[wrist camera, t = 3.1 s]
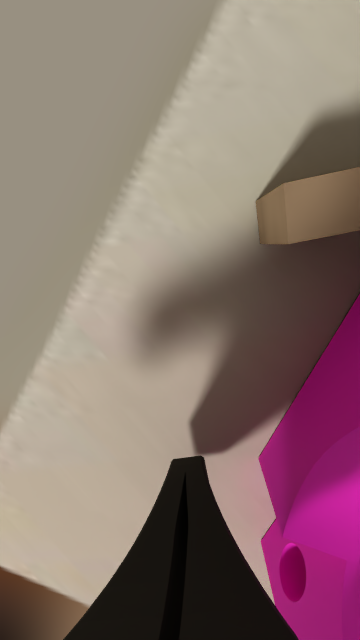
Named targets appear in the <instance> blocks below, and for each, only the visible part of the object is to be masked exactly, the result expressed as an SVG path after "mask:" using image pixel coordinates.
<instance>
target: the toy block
mask: <svg viewBox="0 0 360 640" xmlns="http://www.w3.org/2000/svg"><path fill="white" fill-rule="evenodd" d="M258 459H259V462H260V465H261V468H262V472H263V475H264V478H265V482H266V485H267V488H268V492H269V495H270V498H271V502H272V505H273V508H274V511H275V515H276V518H277V519H276V520H275V521H274V523H273V524H272V526H271V527H270V529H269V530H268V531H267V533H266V534H265V536H264V537H263V539H262V540H261V544H262V549H263V553H264V557H265V562H266V566H267V571H268V575H269V579H270V584H271V588H272V593H273V597H274V602H275V606H276V608H277V609H278V611H279V612H280V613H281V615H282V616H283V618H284V619H285V620H286V622H287V623H288V625H289V626H290V627H291V629H292V630H293V631H294V633H295V634H296V636H297V637H298V639H299V640H360V294H359V296H358V298H357V299H356V301H355V302H354V304H353V306H352V307H351V309H350V310H349V312H348V314H347V315H346V317H345V319H344V320H343V322H342V323H341V325H340V327H339V328H338V330H337V332H336V333H335V335H334V336H333V338H332V340H331V341H330V343H329V345H328V346H327V348H326V349H325V351H324V353H323V354H322V356H321V358H320V359H319V361H318V362H317V364H316V366H315V367H314V369H313V371H312V372H311V374H310V375H309V377H308V379H307V380H306V382H305V383H304V385H303V387H302V388H301V390H300V392H299V393H298V395H297V396H296V398H295V400H294V401H293V403H292V405H291V406H290V408H289V409H288V411H287V413H286V414H285V416H284V418H283V419H282V421H281V422H280V424H279V426H278V427H277V429H276V431H275V432H274V434H273V435H272V437H271V439H270V440H269V442H268V444H267V445H266V447H265V448H264V450H263V452H262V453H261V455H260V456H259V458H258Z"/></svg>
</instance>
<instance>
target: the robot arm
mask: <svg viewBox="0 0 360 640" xmlns="http://www.w3.org/2000/svg"><path fill="white" fill-rule="evenodd" d="M63 640H299V639H298V637H297V636H296V634H295V633H294V631H293V630H292V629H291V627H290V626H289V625H288V623H287V622H286V620H285V619H284V618H283V616H282V615H281V613H280V612H279V611H278V609H277V608H276V606H275V605H274V603H273V602H272V600H271V599H270V597H269V596H268V594H267V593H266V591H265V590H264V588H263V587H262V585H261V584H260V582H259V581H258V579H257V577H256V576H255V574H254V573H253V571H252V569H251V568H250V566H249V564H248V563H247V561H246V560H245V558H244V556H243V554H242V553H241V551H240V549H239V547H238V545H237V544H236V542H235V540H234V538H233V536H232V534H231V532H230V530H229V528H228V526H227V524H226V522H225V520H224V518H223V516H222V514H221V512H220V509H219V507H218V505H217V502H216V500H215V497H214V495H213V492H212V489H211V487H210V484H209V480H208V475H207V470H206V465H205V460H204V457H202V456H195V457H187V458H179V459H173V460H172V462H171V465H170V468H169V470H168V473H167V476H166V479H165V481H164V484H163V486H162V488H161V491H160V493H159V495H158V497H157V500H156V502H155V504H154V506H153V508H152V510H151V512H150V514H149V516H148V518H147V520H146V522H145V524H144V526H143V528H142V530H141V532H140V534H139V535H138V537H137V539H136V541H135V542H134V544H133V546H132V547H131V549H130V551H129V552H128V554H127V556H126V557H125V559H124V560H123V562H122V563H121V565H120V566H119V568H118V569H117V571H116V572H115V574H114V575H113V577H112V578H111V580H110V581H109V582H108V584H107V585H106V587H105V588H104V589H103V591H102V592H101V593H100V595H99V596H98V597H97V599H96V600H95V601H94V603H93V604H92V605H91V606H90V608H89V609H88V611H87V612H86V613H85V614H84V616H83V617H82V618H81V619H80V620H79V622H78V623H77V624H76V625H75V626H74V628H73V629H72V630H71V631H70V632H69V634H68V635H67V636H66V637H65V638H64V639H63Z"/></svg>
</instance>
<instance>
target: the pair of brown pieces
mask: <svg viewBox="0 0 360 640" xmlns="http://www.w3.org/2000/svg"><path fill="white" fill-rule="evenodd" d="M256 209H257V218H258V227H259V236H260V244H292V243H297V242H302V241H308V240H313V239H318V238H323V237H328V236H333V235H338V234H343V233H349V232H354V231H359V230H360V167H357V168H352V169H347V170H343V171H338V172H333V173H329V174H324V175H319V176H315V177H310V178H305V179H301V180H296V181H291V182H287V183H283V184H282V185H280V186H278V187H277V188H275V189H274V190H272V191H271V192H269V193H268V194H266V195H265V196H263V197H262V198H260V199H258V200H257V201H256Z"/></svg>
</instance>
